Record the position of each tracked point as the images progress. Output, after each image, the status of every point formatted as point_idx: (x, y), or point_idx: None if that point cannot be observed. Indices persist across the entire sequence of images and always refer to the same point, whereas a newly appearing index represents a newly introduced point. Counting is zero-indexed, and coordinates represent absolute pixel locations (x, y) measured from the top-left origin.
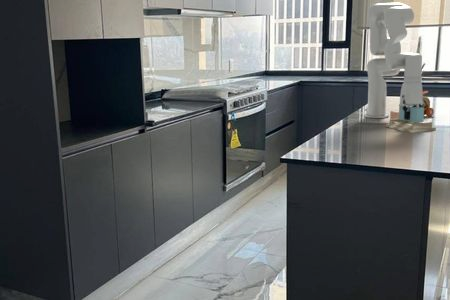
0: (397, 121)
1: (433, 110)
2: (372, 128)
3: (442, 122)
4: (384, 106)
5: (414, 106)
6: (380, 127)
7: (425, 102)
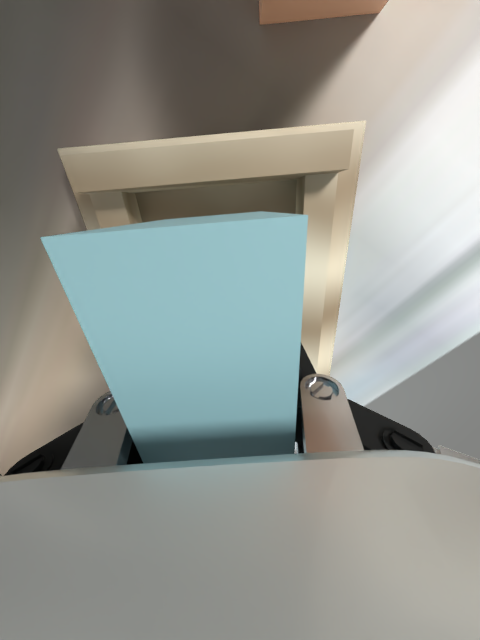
0: (173, 187)
1: None
2: None
3: None
4: None
5: (321, 434)
6: (15, 143)
7: None
